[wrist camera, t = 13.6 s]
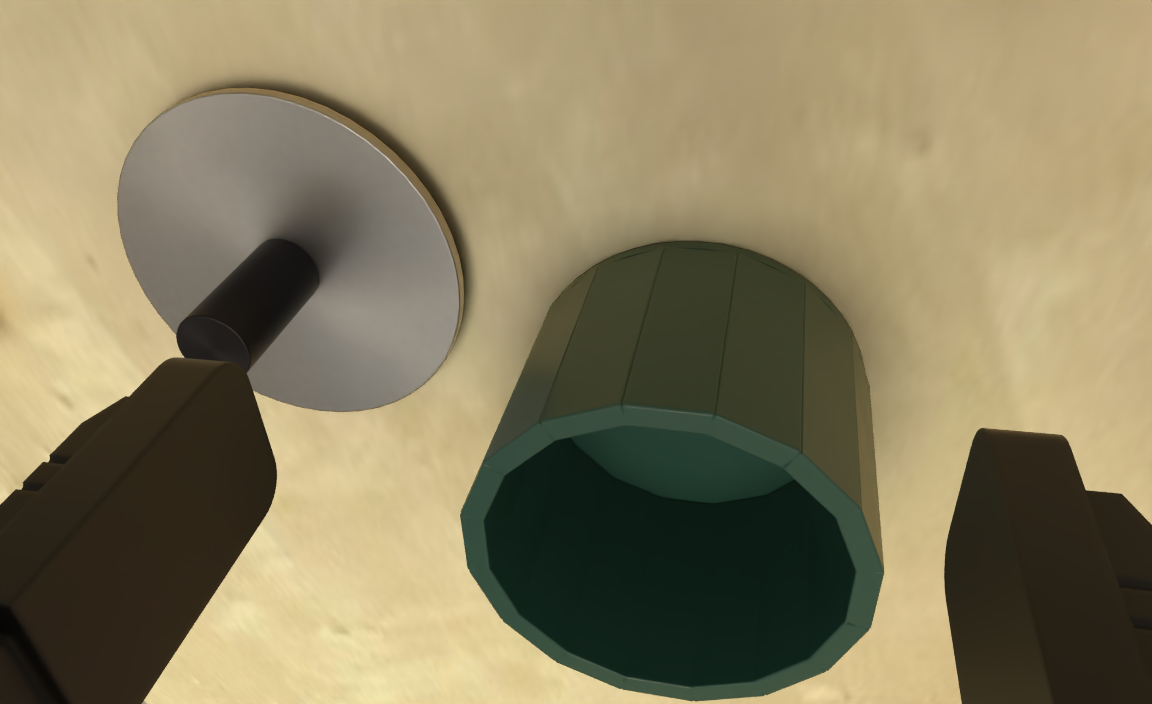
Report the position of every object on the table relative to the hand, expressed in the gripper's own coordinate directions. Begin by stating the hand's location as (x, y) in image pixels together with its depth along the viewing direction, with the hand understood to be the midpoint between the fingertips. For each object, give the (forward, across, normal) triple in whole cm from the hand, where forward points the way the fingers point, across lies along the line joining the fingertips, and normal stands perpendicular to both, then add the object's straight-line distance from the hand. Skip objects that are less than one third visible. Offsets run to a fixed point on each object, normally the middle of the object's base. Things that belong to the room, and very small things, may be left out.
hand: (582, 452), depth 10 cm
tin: (+18, 0, +13) cm, 22 cm away
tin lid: (+18, +14, +8) cm, 24 cm away
